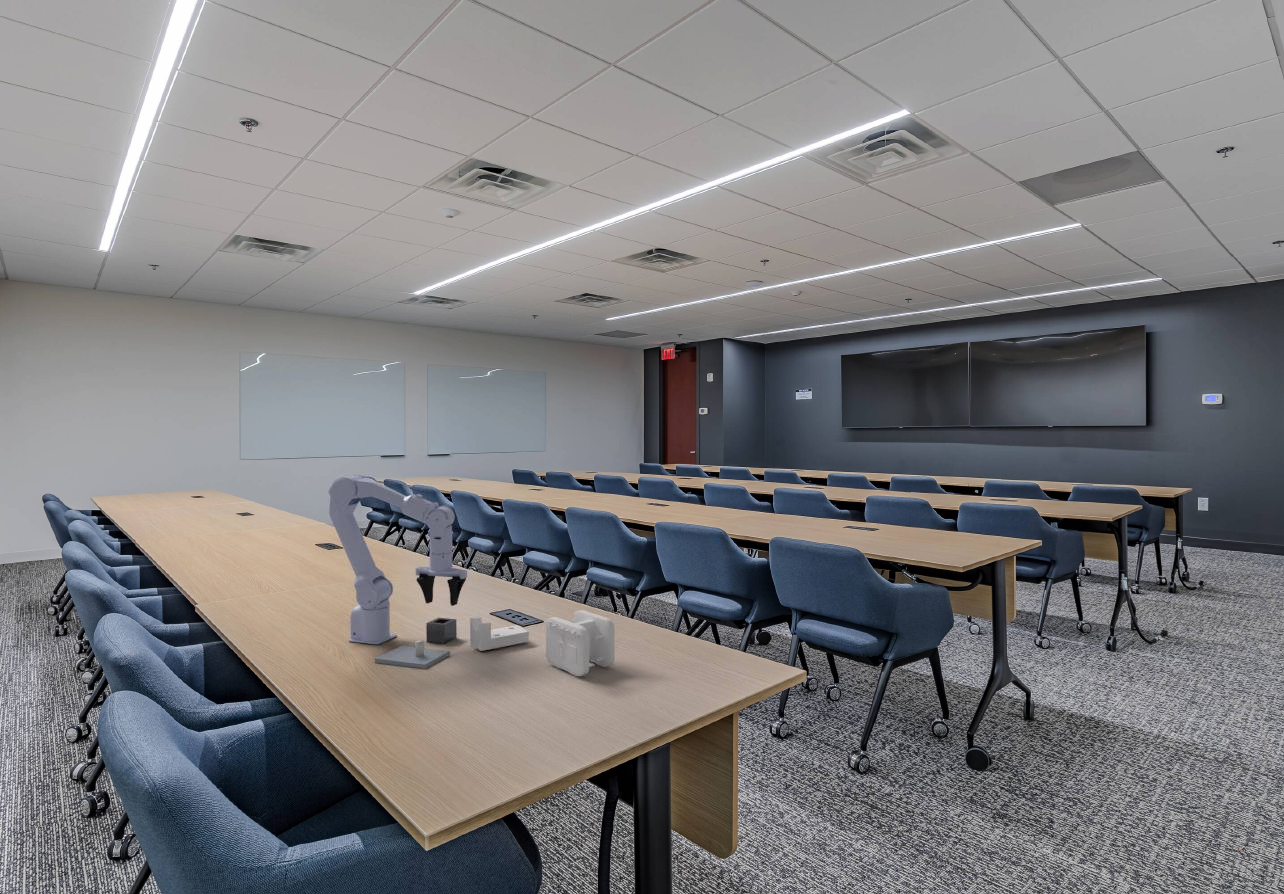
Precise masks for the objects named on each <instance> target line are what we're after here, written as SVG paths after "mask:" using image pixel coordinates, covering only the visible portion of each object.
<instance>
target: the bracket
mask: <svg viewBox="0 0 1284 894" xmlns="http://www.w3.org/2000/svg"><path fill="white" fill-rule="evenodd" d="M469 621H470V622H469V623H470V624H469V626H470V633H469V634H470V635H469V637H470V640H469V642H470V643H469V644H470V647H471V648H472V649H474V650H475V651H477V650H478V651H480V652H482V651H487V650H492V649H497V648H502V647H508V646H513V645H518V644H523V643H528V642H529V640H530V637H529V636H530V635H529V630H526V629H525V628H523V627H521V626H519V625H517V624H516V625H512V626H506V627H500V628H494V629H492V623H491V622H490V621H487V622H482V621H483V620H482V617H481V616H476V617H470V619H469Z"/></svg>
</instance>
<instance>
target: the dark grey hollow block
mask: <svg viewBox="0 0 1284 894" xmlns="http://www.w3.org/2000/svg"><path fill="white" fill-rule="evenodd" d="M457 628H458V627H457V618H449V617H447V618H445V617H437V618H435V619H433V620H429V621H428V622H426V627H425V629H426V632H425V633H426V638H425V639H426V643H433V644H440V645H446V644H447V643H450V642H451V641H453V640H455V639H457V635H458V634H457Z"/></svg>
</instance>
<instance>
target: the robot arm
mask: <svg viewBox="0 0 1284 894" xmlns="http://www.w3.org/2000/svg"><path fill="white" fill-rule="evenodd" d="M328 494H329V496H330V498H329V512H328V513H329V518H330V519H331V522H332V524H333V527H334V529H335V531H336V533H337V536H338V538H339V541H340V542H341V545H342V547H343V549H344V551H345V553H346V557H347V559H348V561H349V563H350V566H351V567H352V570H353V572H354V575H355V579H354V584H353V587H354V588H355V599H356V602H357V603H358V605H356V606H355V607H353V609H352V611H351V613H350V638H349V639H347V640H348V642H352V643H360V644H361V643H362V644H370V645H380V644H383V643H385V642H387V641H389V640H391V639H393V638H397V636H398V634H397V633H391V627H390V626H391V623H390V617H391V616H390V613H391V612H390V611H391V610H390V608H391V607H390V606H391V605H390V599H389V598H391V596H392V595H393V592H394V587H393V583H392V581H391V580H390V579H389V578H387V577H386V575H385V573H384V571H382V570H381V569H380V568H378V567H377V565H376V563H375V561H374V559H373V557H372V554H371V551H370V550H369V547H368V545H367V543H366V541H365V538H364V535H363V533H362V531H361V528H360V527H359V524H358V522H357V520H356V517H355V515H354V512H355V510H356V509H357V506H358V505H359V503H360V502H361V501H362V500H363V499H364V498H371V497H372V498H375V499H377V500H380V501H383V502H385V503H388V504H391V505H393V506H394V507H398V508H400V509H401V512H402V514H403V515H405V516H406V517H408V518H409V517H410V518H412V519H414V520H416V521H419V522H421V523H423V524H426V525H427V527H428V528H429V566H417V567H416V568H415V576H418V577H416V582H417V584H418V585H419V587H420V589H421V592H422V594H423V598H424V601H425V604H431V603H433V600H434V584H435V578H436V577H443V578H448V579H447V581H446V582H447V585H448V590H449V604H450V606H452V607H453V606H456V605H457V604H458V602H459V597H460V594H461V591H462V588H463V586H464V584H465V583H466V580H467V578H468V570H467V569H463V568H462V569H461V568H455V567H453V525H452V524H453V523H454V521H455V518H456V516H455V513H454V511H453V510H452V508H450V507H449V506H447V505H441V506H439V502H432V501H430V500H427V499H426V498H423V494H419V493H418V494H410V495H407V496H406V495H404V494H402V493H400V492H398V491H397V490H394V489H393V488H390V487H388V486H387V485H385V484H382V483H380V482H378V481H376V480H375V479H373V478H369V477H366V476H363V475H361V474H355V475H353V476H340V477H339V478H336V479H334V481H333V482H332V483H331V486H330V488H329V489H328ZM449 578H450V579H449Z"/></svg>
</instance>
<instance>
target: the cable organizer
mask: <svg viewBox="0 0 1284 894" xmlns="http://www.w3.org/2000/svg"><path fill="white" fill-rule="evenodd" d="M545 657H546V660H547V662H548V663H549V664H550V665H552V666H553V667H555V668H557V669H559V670H562V671H563V670H564V671H566V672H568V674H571V675H573V676H575V677H582V676H586V675H587V674H589V672H590V662H592V663H595V665H597V666H599V667H601V668H604V669H605V668H607V667H610V666H612V665H614V663H615V624H614V622H613V620H612V619H611V618H609V617H605V616H602V615H599V614H596V613H593V612H590V611H587V610H584V609H581V610H576V611H575V612H574V613H573V622H571V621H569V620H566V619H563V618H560V617H558V616H553V617H548V618H547V619H546V621H545Z"/></svg>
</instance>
